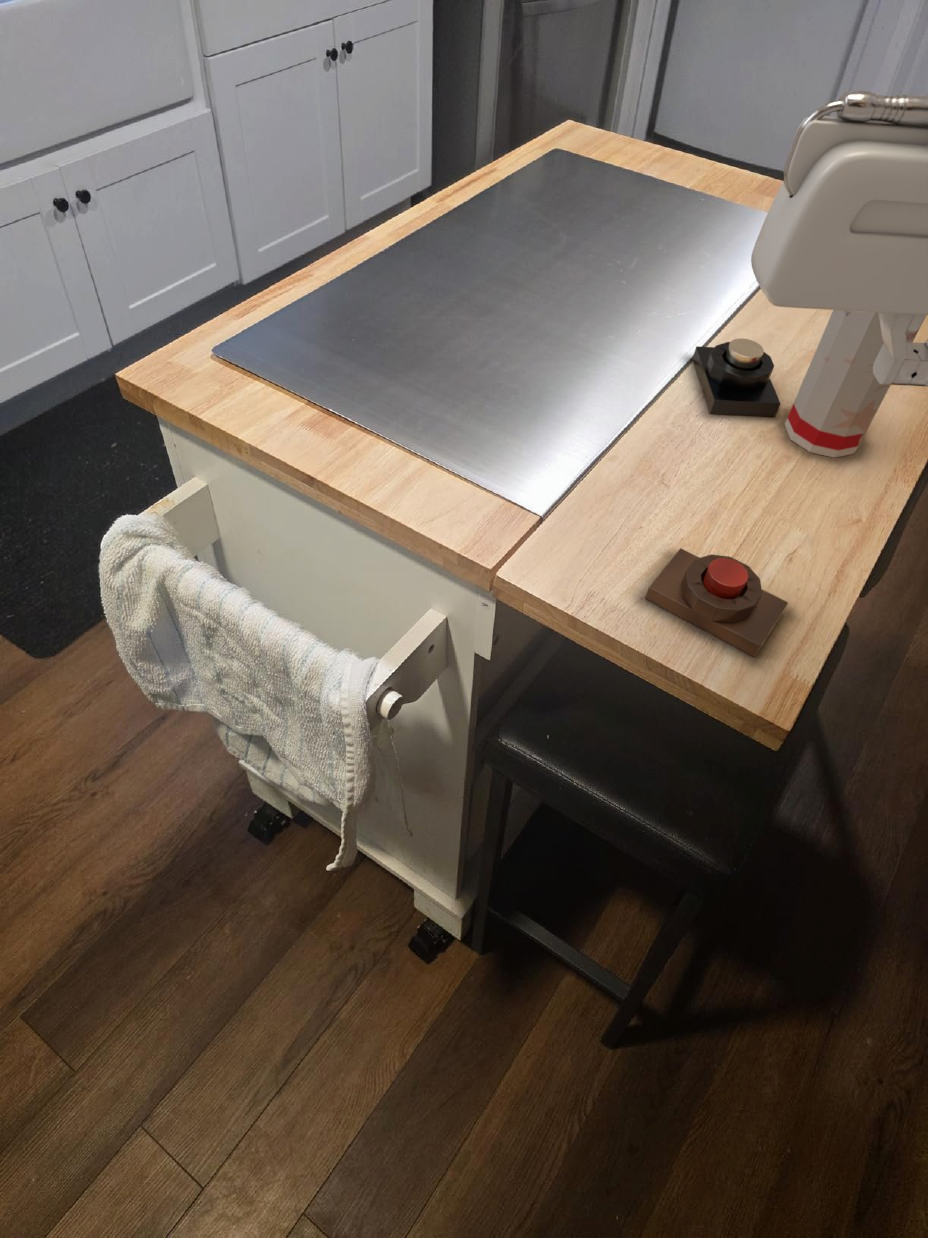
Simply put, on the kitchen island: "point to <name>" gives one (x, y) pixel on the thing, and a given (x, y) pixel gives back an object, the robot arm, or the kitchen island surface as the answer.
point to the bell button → (725, 578)
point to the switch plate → (735, 384)
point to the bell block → (717, 602)
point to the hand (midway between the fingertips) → (900, 379)
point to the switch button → (744, 354)
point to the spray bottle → (840, 386)
